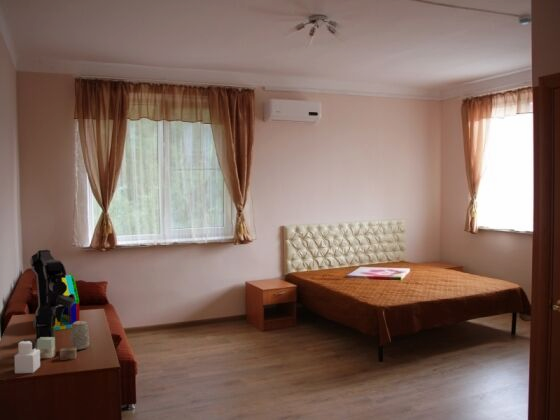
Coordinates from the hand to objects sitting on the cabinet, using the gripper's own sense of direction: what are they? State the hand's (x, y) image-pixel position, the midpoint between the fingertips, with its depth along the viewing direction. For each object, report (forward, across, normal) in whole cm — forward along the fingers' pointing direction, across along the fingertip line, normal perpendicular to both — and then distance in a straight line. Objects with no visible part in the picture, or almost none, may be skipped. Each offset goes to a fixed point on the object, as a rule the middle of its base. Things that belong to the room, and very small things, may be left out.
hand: (54, 325), depth 221 cm
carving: (+12, +3, -10) cm, 16 cm away
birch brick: (+12, -7, 0) cm, 14 cm away
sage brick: (+8, -7, +1) cm, 11 cm away
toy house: (+13, +43, +16) cm, 47 cm away
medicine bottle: (+11, -22, +1) cm, 25 cm away
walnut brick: (+12, -9, -10) cm, 18 cm away
